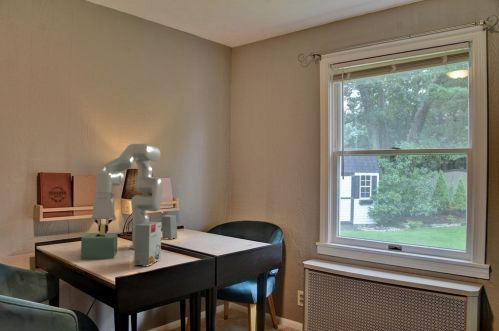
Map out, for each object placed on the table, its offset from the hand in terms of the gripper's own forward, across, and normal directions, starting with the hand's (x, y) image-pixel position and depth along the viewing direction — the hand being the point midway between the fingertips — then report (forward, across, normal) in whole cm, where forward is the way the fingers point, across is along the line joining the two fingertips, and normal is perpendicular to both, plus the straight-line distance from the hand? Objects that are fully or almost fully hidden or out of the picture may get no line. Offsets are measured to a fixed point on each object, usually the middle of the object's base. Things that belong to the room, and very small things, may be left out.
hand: (103, 232), depth 199 cm
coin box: (+15, +4, -16) cm, 22 cm away
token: (+1, 0, +1) cm, 2 cm away
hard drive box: (+15, -22, +5) cm, 27 cm away
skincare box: (+16, -34, -65) cm, 74 cm away
